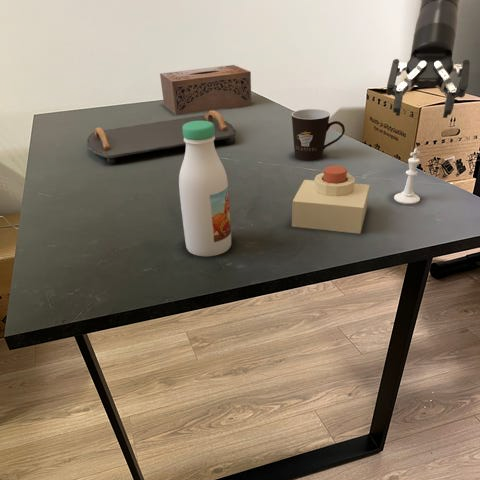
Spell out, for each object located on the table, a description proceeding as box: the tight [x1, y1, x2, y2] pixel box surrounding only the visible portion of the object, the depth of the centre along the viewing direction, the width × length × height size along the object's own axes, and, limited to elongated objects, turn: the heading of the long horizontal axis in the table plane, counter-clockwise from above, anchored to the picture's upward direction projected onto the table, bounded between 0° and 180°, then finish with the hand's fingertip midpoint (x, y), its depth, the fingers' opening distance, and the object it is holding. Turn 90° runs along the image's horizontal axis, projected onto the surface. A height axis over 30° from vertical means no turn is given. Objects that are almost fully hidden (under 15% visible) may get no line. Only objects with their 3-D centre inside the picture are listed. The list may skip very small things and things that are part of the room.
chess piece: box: [393, 148, 421, 205], centre depth 88 cm, size 5×5×10 cm
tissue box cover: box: [159, 64, 252, 116], centre depth 153 cm, size 26×14×10 cm, turn 112°
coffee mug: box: [291, 108, 346, 162], centre depth 108 cm, size 12×9×10 cm
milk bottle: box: [178, 121, 232, 257], centre depth 73 cm, size 8×8×20 cm
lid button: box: [323, 165, 348, 184], centre depth 83 cm, size 4×4×2 cm
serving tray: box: [86, 110, 236, 166], centre depth 123 cm, size 39×23×6 cm, turn 114°
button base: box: [291, 172, 370, 235], centre depth 84 cm, size 12×10×7 cm
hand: (421, 114), depth 88 cm, fingers open, 8 cm apart
